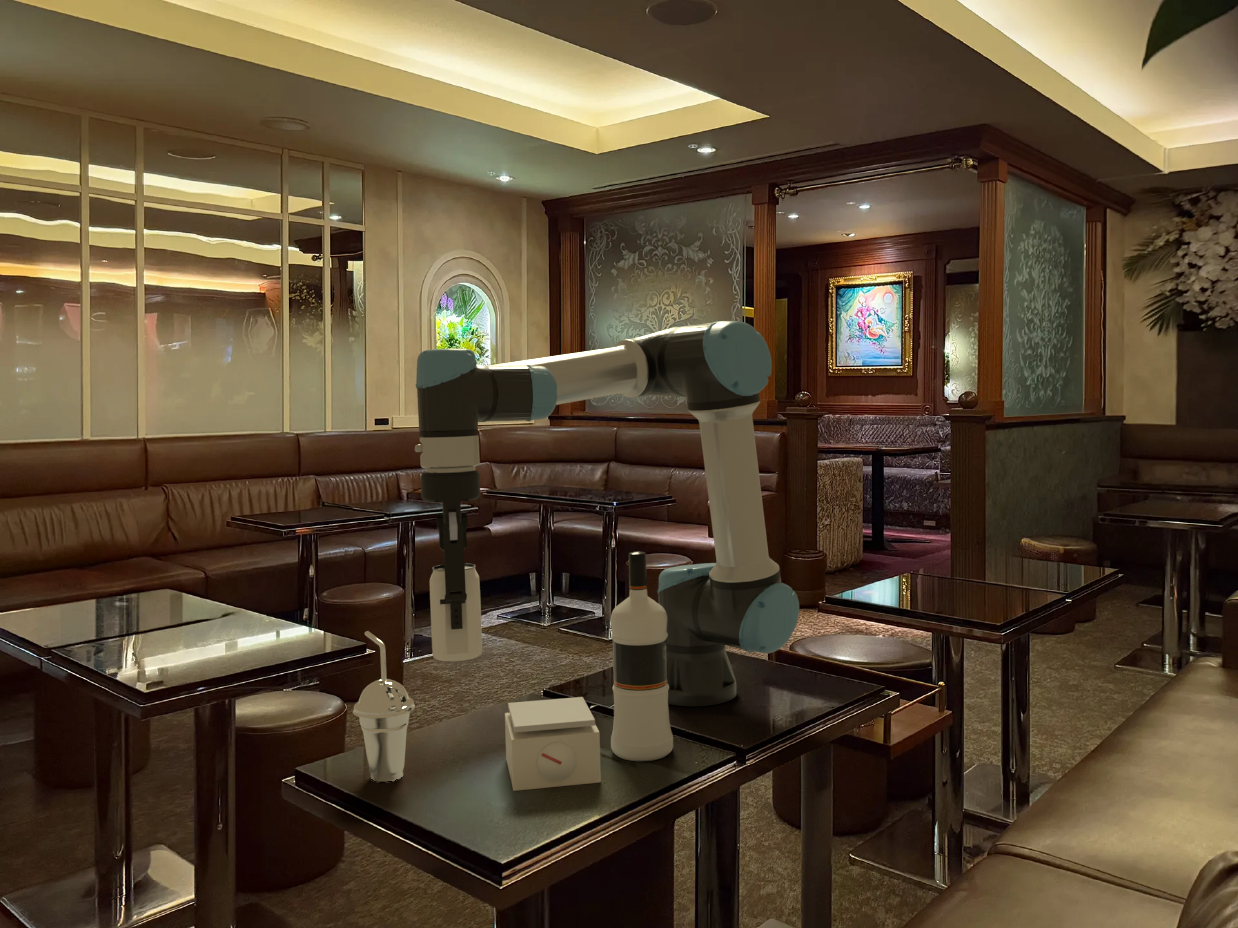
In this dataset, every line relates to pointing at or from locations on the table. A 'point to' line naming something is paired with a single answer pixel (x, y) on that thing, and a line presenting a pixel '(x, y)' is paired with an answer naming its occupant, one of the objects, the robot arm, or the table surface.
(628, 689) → the vodka
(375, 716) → the cup with straw
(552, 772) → the scale
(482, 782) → the table surface
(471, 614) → the can
